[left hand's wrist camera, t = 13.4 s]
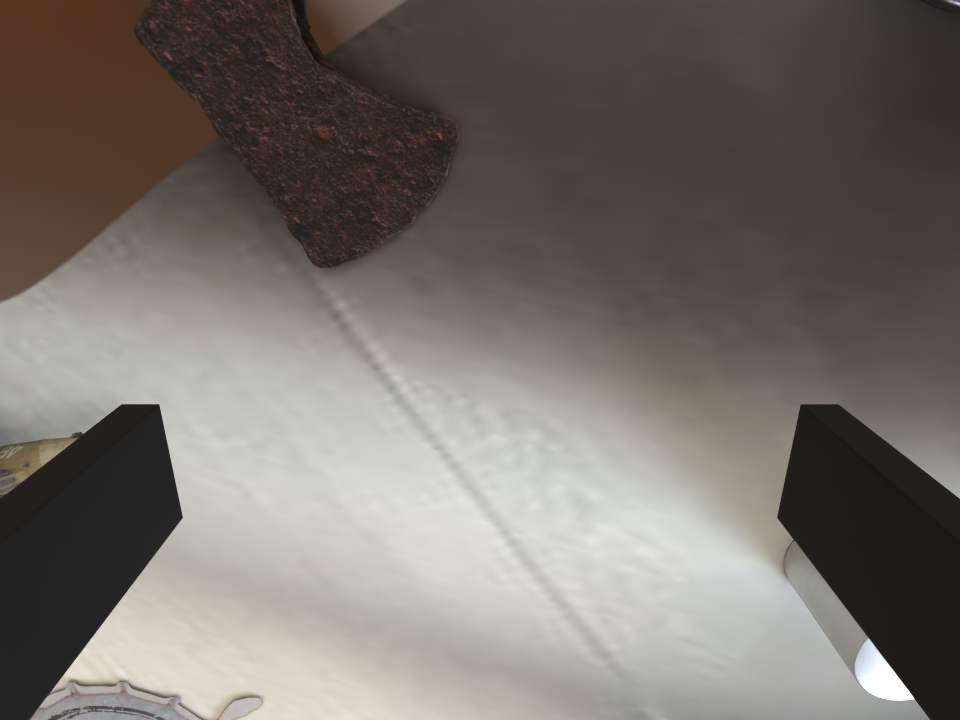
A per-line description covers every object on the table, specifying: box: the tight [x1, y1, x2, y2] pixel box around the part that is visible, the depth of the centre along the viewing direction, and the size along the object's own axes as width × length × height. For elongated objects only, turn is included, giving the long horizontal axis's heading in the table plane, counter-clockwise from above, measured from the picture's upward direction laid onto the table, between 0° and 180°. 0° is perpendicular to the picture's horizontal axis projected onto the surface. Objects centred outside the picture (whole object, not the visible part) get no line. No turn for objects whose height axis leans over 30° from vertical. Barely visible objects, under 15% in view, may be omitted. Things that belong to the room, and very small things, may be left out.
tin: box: [784, 540, 914, 700], centre depth 48 cm, size 8×8×11 cm
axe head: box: [134, 0, 459, 268], centre depth 38 cm, size 18×8×15 cm
